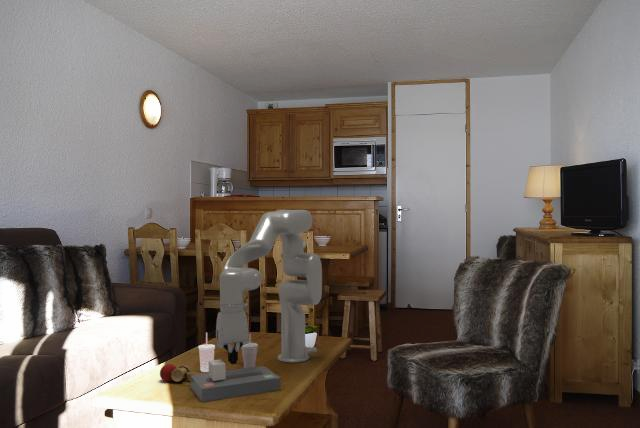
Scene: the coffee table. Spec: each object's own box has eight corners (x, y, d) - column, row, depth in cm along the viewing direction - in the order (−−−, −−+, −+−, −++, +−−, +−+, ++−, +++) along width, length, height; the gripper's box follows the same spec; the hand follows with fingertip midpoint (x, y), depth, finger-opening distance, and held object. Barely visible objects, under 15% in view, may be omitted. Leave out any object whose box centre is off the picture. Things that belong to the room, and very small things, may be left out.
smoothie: (244, 374, 197) (244, 335, 197) (238, 369, 203) (238, 332, 203) (260, 371, 200) (260, 333, 200) (254, 367, 206) (254, 330, 206)
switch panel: (260, 374, 196) (260, 363, 196) (280, 389, 179) (280, 377, 179) (188, 384, 185) (188, 372, 185) (201, 402, 168) (201, 388, 168)
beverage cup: (211, 372, 199) (211, 334, 199) (195, 372, 200) (195, 334, 200) (217, 368, 205) (217, 331, 205) (202, 367, 206) (202, 330, 206)
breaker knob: (220, 374, 181) (220, 359, 181) (225, 379, 176) (225, 363, 176) (208, 376, 180) (208, 360, 180) (213, 380, 174) (213, 365, 174)
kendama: (213, 382, 193) (164, 373, 195) (214, 365, 192) (165, 357, 193) (206, 393, 185) (155, 384, 187) (207, 376, 184) (156, 367, 186)
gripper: (249, 304, 187) (251, 357, 187) (206, 308, 180) (208, 363, 181) (257, 307, 180) (258, 363, 181) (212, 312, 174) (213, 369, 174)
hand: (233, 363), depth 181 cm, fingers closed
